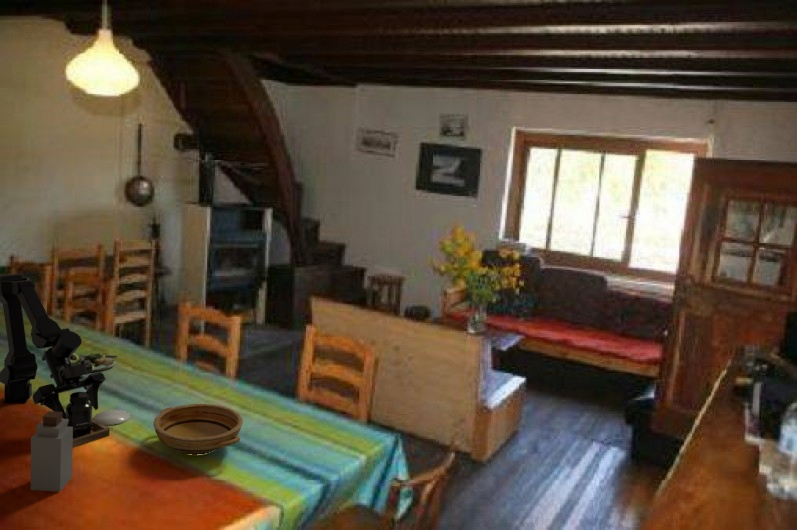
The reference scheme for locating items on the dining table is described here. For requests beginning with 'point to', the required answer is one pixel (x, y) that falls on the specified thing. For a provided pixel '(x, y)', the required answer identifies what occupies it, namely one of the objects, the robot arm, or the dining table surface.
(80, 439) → the wooden u-shaped frame
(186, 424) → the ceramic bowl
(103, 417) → the coaster
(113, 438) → the dining table surface
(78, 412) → the supplement bottle
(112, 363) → the salad plate
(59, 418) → the perfume bottle
